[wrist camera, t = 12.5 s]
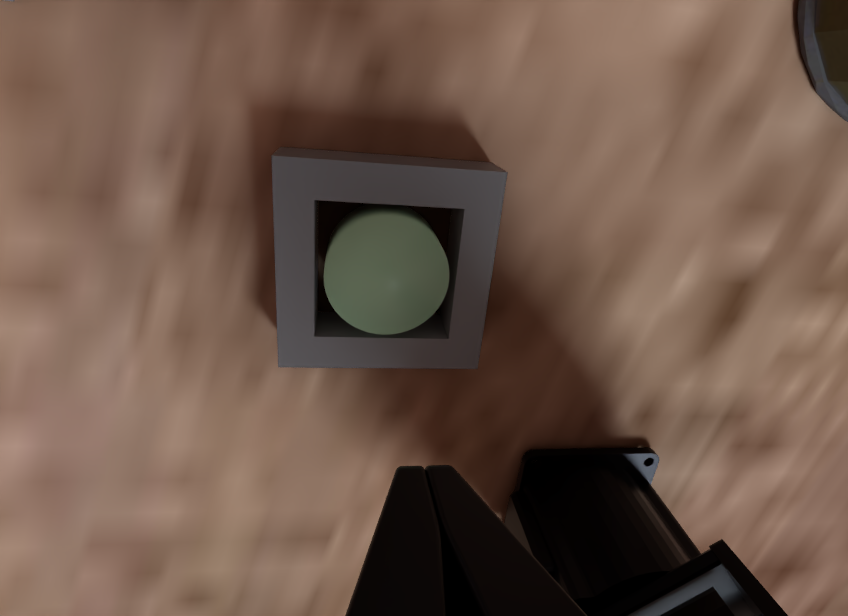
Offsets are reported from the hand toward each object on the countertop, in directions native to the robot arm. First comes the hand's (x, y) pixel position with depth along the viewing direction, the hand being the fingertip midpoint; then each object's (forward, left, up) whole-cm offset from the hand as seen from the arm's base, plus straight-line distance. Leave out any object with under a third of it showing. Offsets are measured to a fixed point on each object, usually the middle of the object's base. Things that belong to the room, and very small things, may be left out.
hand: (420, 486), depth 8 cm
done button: (0, 0, -11) cm, 11 cm away
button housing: (0, 0, -12) cm, 12 cm away
